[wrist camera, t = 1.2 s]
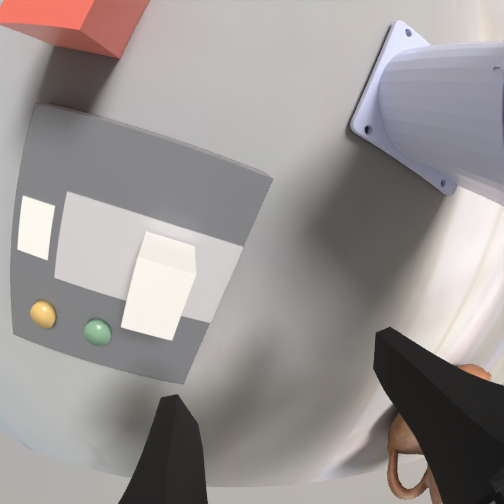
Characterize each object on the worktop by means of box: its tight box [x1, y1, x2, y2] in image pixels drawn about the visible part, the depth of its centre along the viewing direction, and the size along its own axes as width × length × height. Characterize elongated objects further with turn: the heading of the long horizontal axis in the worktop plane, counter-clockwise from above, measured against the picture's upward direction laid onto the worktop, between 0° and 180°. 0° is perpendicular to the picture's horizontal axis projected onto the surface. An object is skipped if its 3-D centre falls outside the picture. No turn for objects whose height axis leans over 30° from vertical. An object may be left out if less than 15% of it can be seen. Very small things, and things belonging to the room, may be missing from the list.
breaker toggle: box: [121, 231, 196, 341], centre depth 13 cm, size 2×4×3 cm, turn 156°
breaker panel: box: [10, 103, 273, 384], centre depth 15 cm, size 12×14×2 cm
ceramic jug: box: [387, 364, 492, 504], centre depth 24 cm, size 18×14×14 cm
